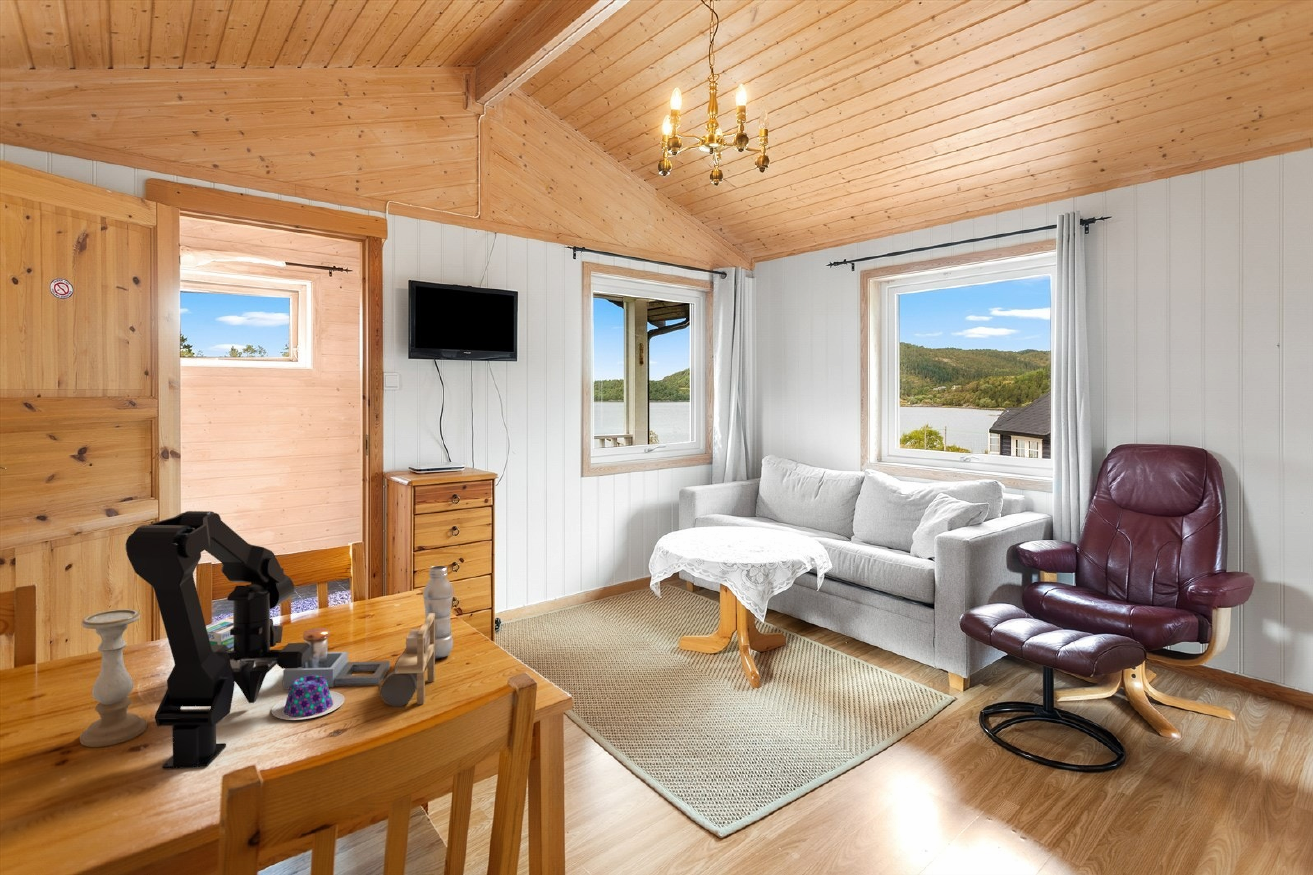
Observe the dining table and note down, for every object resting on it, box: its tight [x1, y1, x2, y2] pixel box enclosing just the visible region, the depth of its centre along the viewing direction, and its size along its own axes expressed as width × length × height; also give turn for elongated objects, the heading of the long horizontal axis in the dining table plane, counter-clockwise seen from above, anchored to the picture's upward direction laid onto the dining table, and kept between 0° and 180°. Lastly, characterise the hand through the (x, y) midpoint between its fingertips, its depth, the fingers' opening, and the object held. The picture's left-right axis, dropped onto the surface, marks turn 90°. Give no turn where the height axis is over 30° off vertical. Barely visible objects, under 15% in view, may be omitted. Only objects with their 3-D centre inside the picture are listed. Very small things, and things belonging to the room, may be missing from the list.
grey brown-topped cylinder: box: [302, 627, 330, 668], centre depth 138 cm, size 5×5×9 cm
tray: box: [282, 651, 349, 690], centre depth 138 cm, size 9×9×4 cm
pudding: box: [271, 675, 345, 721], centre depth 126 cm, size 12×12×5 cm
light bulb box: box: [206, 615, 256, 668], centre depth 139 cm, size 11×7×11 cm, turn 169°
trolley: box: [379, 613, 436, 707], centre depth 133 cm, size 12×8×14 cm, turn 8°
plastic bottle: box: [422, 565, 454, 660], centre depth 151 cm, size 6×7×20 cm
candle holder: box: [79, 608, 148, 748], centre depth 114 cm, size 9×9×20 cm
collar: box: [333, 660, 391, 687], centre depth 140 cm, size 8×8×2 cm
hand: (252, 702), depth 125 cm, fingers closed
